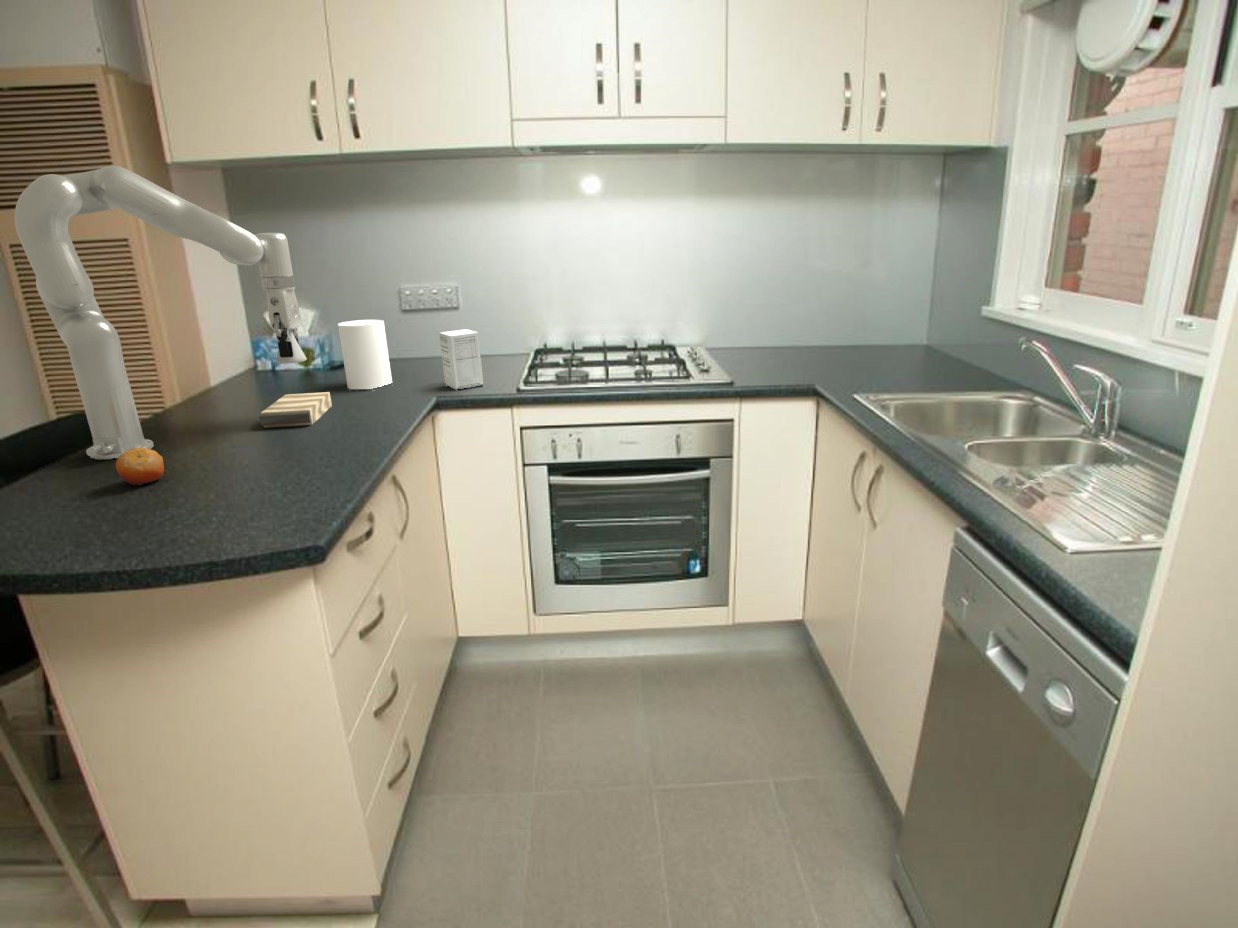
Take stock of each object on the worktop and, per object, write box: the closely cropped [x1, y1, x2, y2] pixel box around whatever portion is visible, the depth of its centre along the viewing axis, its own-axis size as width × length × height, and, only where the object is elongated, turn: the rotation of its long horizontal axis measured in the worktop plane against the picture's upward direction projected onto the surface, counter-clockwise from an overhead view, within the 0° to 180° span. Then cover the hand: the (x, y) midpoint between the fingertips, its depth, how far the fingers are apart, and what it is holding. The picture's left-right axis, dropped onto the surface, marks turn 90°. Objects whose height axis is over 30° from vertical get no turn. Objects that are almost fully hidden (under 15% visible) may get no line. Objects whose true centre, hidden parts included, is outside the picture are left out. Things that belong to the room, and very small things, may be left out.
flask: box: [275, 328, 308, 364], centre depth 185 cm, size 7×7×10 cm
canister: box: [337, 319, 393, 390], centre depth 222 cm, size 14×14×20 cm
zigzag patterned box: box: [258, 391, 333, 429], centre depth 191 cm, size 22×12×4 cm, turn 7°
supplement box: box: [438, 328, 484, 388], centre depth 218 cm, size 10×9×17 cm
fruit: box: [115, 447, 165, 486], centre depth 144 cm, size 8×8×8 cm
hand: (290, 354), depth 186 cm, fingers closed on flask, 4 cm apart
